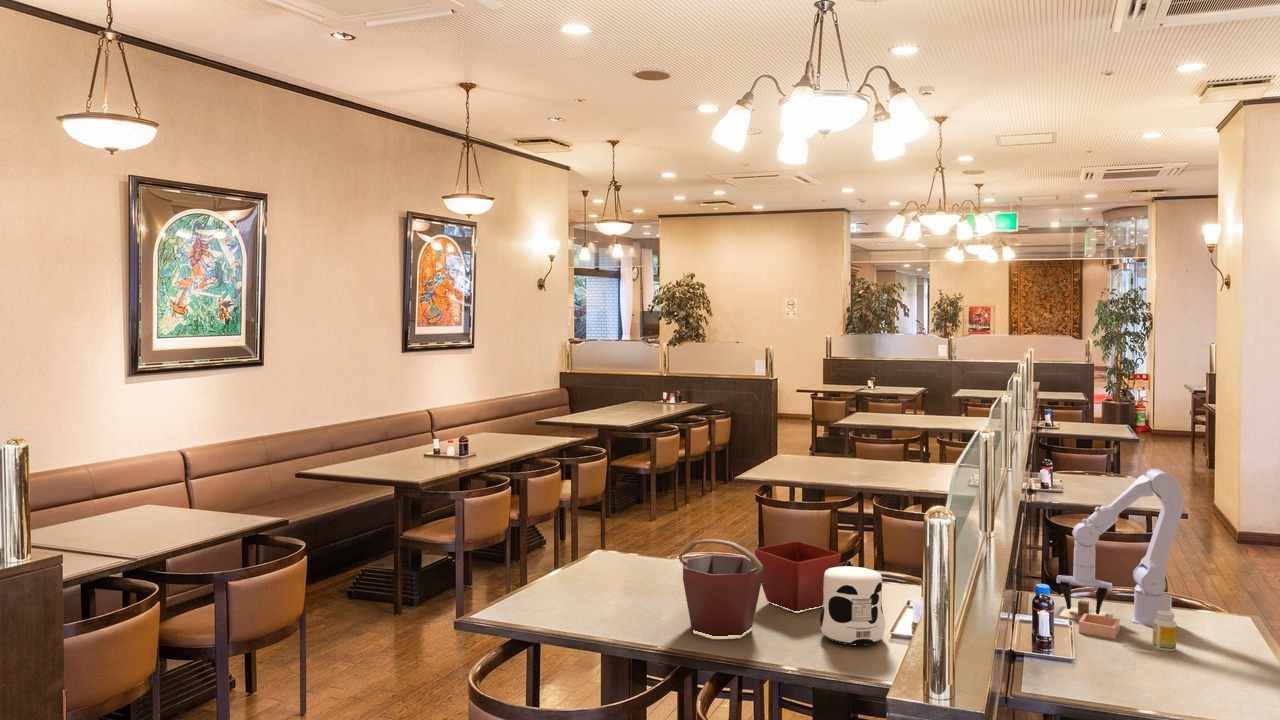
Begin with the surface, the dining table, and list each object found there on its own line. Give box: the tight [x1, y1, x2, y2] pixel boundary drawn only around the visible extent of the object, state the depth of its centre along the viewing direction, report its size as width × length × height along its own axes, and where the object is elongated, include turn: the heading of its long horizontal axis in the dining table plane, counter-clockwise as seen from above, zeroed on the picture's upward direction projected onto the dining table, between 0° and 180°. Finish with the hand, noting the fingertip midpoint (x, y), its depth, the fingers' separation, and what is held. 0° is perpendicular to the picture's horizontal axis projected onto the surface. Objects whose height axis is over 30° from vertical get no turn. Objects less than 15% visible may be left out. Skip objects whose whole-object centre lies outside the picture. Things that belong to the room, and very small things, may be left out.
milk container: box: [819, 565, 886, 646], centre depth 245 cm, size 17×17×18 cm
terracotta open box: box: [1078, 613, 1121, 640], centre depth 251 cm, size 9×9×4 cm
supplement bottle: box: [1152, 610, 1178, 652], centre depth 239 cm, size 5×5×10 cm
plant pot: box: [754, 540, 842, 611], centre depth 274 cm, size 19×19×17 cm
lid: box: [1059, 600, 1108, 622], centre depth 264 cm, size 11×11×4 cm
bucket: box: [677, 538, 763, 636], centre depth 253 cm, size 24×22×25 cm
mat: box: [1054, 605, 1114, 622], centre depth 264 cm, size 14×12×1 cm
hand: (1083, 610), depth 264 cm, fingers open, 7 cm apart
